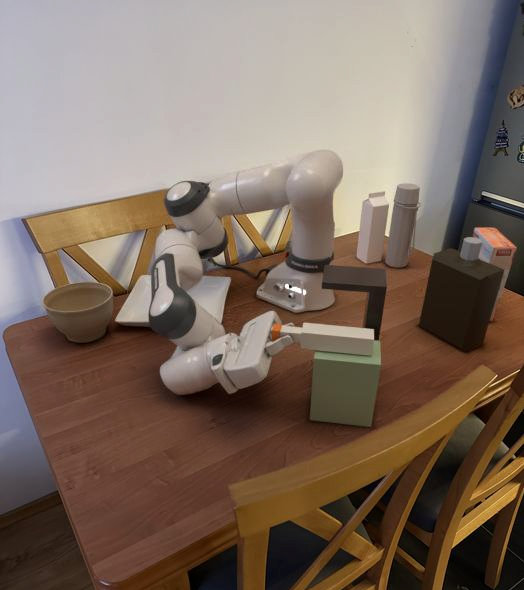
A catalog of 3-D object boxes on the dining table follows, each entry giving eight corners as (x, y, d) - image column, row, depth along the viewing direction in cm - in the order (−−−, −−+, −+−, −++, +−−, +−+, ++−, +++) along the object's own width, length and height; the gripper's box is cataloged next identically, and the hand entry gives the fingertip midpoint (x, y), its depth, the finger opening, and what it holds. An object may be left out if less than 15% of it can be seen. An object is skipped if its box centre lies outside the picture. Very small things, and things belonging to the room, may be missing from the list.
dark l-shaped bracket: (314, 386, 106) (321, 281, 92) (317, 365, 113) (324, 264, 99) (370, 392, 104) (387, 286, 90) (370, 370, 111) (385, 268, 97)
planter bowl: (127, 339, 122) (120, 300, 116) (61, 358, 115) (49, 318, 109) (109, 312, 134) (102, 275, 128) (47, 327, 127) (36, 290, 121)
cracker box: (495, 322, 128) (518, 247, 117) (471, 322, 128) (492, 246, 117) (477, 297, 140) (496, 226, 128) (456, 297, 140) (473, 226, 128)
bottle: (465, 354, 116) (493, 256, 102) (414, 325, 127) (432, 233, 113) (486, 344, 119) (516, 248, 105) (435, 317, 131) (455, 226, 117)
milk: (381, 261, 161) (391, 193, 149) (365, 264, 159) (374, 196, 147) (370, 254, 166) (379, 188, 153) (355, 257, 164) (363, 190, 151)
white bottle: (271, 345, 92) (271, 329, 90) (274, 335, 95) (274, 319, 93) (371, 356, 89) (374, 339, 87) (371, 345, 92) (373, 329, 90)
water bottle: (379, 263, 160) (390, 185, 146) (395, 257, 163) (407, 181, 149) (401, 273, 153) (414, 192, 139) (417, 267, 157) (432, 188, 143)
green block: (309, 420, 97) (313, 358, 89) (313, 394, 104) (317, 335, 95) (371, 427, 95) (381, 364, 87) (370, 401, 102) (380, 340, 94)
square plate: (115, 333, 124) (112, 320, 122) (142, 285, 147) (140, 273, 145) (221, 335, 123) (220, 322, 121) (232, 286, 146) (231, 274, 144)
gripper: (249, 340, 107) (306, 318, 101) (227, 400, 90) (293, 377, 84) (235, 317, 104) (292, 293, 98) (209, 374, 87) (276, 349, 82)
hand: (292, 332), depth 91 cm, fingers closed on white bottle, 2 cm apart
